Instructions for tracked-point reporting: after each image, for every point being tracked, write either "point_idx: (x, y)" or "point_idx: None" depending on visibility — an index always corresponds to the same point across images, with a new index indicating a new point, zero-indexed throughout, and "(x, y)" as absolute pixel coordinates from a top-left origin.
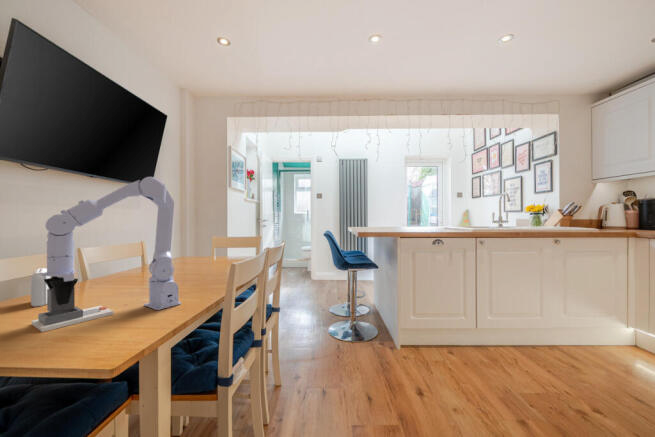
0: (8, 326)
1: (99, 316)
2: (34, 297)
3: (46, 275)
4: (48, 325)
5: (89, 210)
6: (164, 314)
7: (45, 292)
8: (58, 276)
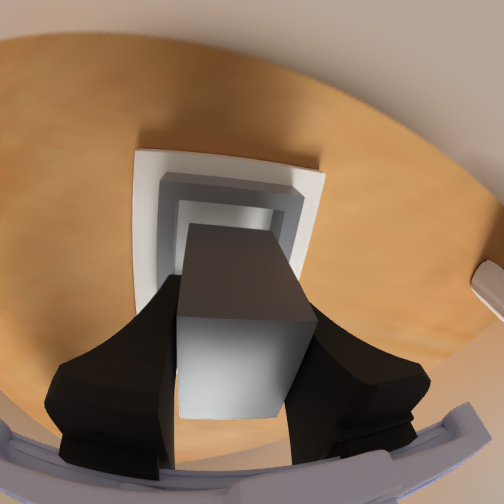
0: (380, 121)
1: None
2: (501, 278)
3: (227, 497)
4: (155, 181)
5: None
6: (39, 390)
7: (494, 307)
8: (37, 474)
